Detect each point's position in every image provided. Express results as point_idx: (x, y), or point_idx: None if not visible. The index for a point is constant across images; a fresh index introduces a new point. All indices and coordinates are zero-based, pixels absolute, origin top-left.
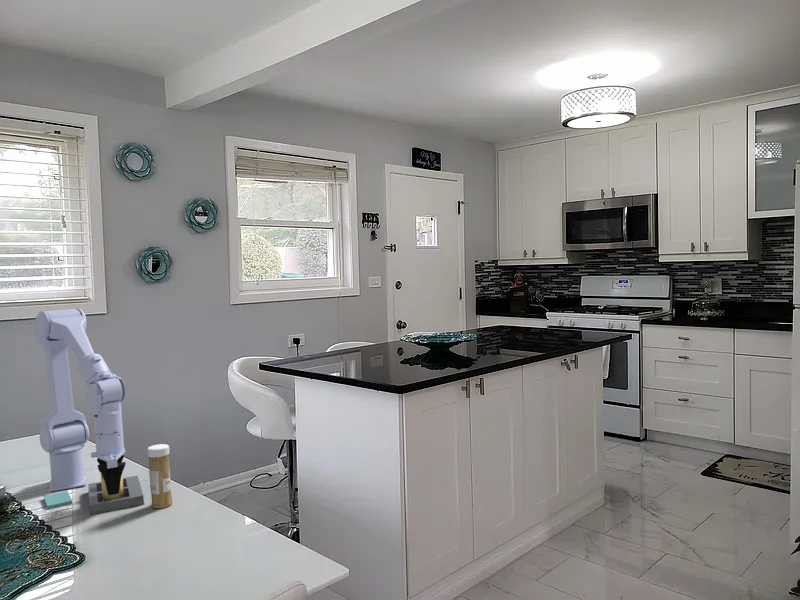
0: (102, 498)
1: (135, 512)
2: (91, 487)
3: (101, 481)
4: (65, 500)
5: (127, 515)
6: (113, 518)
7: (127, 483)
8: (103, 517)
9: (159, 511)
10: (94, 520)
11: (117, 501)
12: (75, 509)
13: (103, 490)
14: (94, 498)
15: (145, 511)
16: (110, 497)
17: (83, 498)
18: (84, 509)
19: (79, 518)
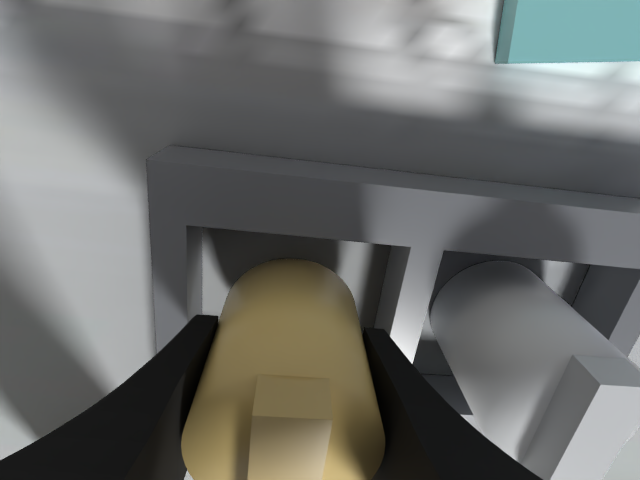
0: (394, 256)
1: (66, 362)
2: (590, 230)
3: (282, 346)
4: (558, 11)
5: (35, 325)
6: (17, 258)
7: (463, 417)
8: (66, 211)
9: (24, 444)
10: (32, 155)
11: (158, 329)
12: (353, 68)
13: (252, 305)
14: (301, 215)
15: (57, 399)
16: (223, 309)
17: (551, 151)
18: (307, 126)
19: (128, 68)
